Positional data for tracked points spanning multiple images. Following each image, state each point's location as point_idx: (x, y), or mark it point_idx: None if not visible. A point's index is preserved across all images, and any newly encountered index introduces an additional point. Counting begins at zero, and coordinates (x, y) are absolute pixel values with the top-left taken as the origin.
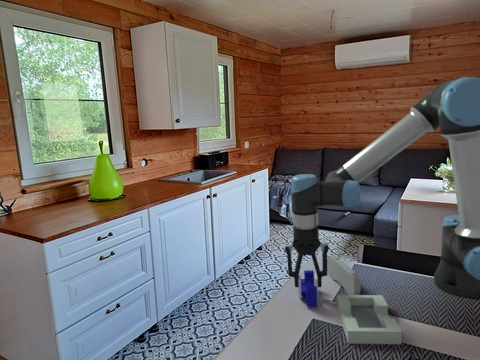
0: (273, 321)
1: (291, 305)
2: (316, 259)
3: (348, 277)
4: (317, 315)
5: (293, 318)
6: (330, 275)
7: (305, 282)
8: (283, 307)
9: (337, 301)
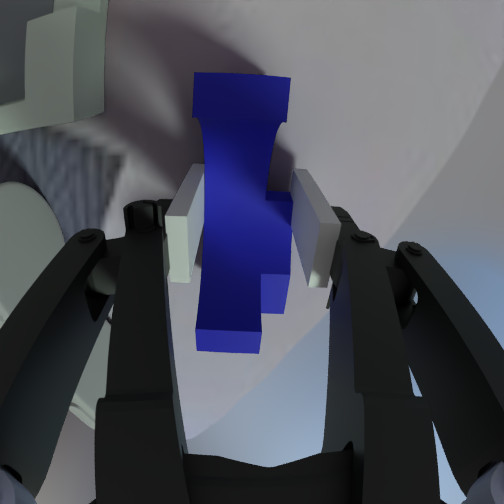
0: (447, 12)
1: (354, 122)
2: (110, 375)
3: (5, 263)
4: (223, 15)
5: (359, 5)
6: None
7: (257, 275)
8: (396, 110)
9: (89, 104)
